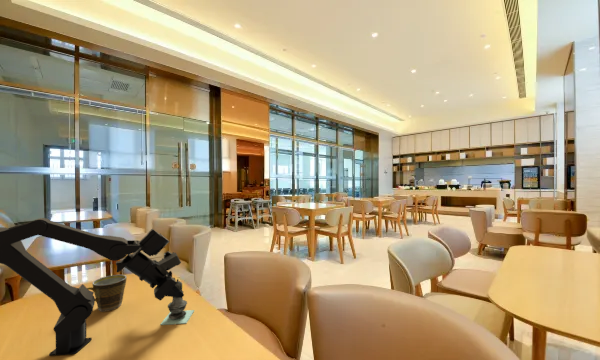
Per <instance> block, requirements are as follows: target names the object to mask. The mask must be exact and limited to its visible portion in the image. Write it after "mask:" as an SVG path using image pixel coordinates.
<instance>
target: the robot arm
mask: <svg viewBox="0 0 600 360" xmlns="http://www.w3.org/2000/svg"><path fill="white" fill-rule="evenodd" d="M36 236H41V237H45V238H47V239H51V240H56V241H59V242H63V243H66V244H70V245H74V246H77V247H80V248H84V249H88V250H90V251H92V252H94V253H96V254H98V255H99V256H101V257H103V258H106V259H107V260H110V261H113V262H114V261H115V265H116V273H120V272H121V271H122V270H123V269H124V268H125V269H126V270H128V271H129V272H131V273H132V274H134V275H135V276H137V277H138V279H139V281H141V282H143V281H144V282H145V283H147V284H148V285H149V287H150V288H151V289H153V294H154V298H155V299H157V300H158V301H162V300H163V299H164V298H165V297H171V298H173V297H180V298H183V297H184V296H185V294H184V292H183V293H182V292H181V290H180V289H179V288H178V287H177V286H176V283H177V282H176V281H177V279H176V278H175V277H173V272H172V269H173V268H174V267H176V266H180V265H181V264H182V261H181V259H180V258H179V256H178V254H177V252H170V251H169V250H168V251H165V252H164V253H163V257H162V258H161V259H160V260H159V261H157V260H156V259H152V258H150V257H151V256H157V255H158V254H159V253H160V252H161V251H162V250H163V249H164V248H165V247H166V246H167V245H168V244H169V243H170V240H169V239H168V238H167V237H165V236H164V235H163V234H162V233H159V232H158V231H157V230H155V229H154V228H151V229H150V230H149V231H148V232H147V233H146V234H145V236H144V237H142V238H141V239H140V240H133V239H132V240H131V239H130V240H129V239H128V240H127V239H126V238H124V237H121V236H113V235H101V234H97V233H93V232H89V231H85V230H82V229H80V228H76V227H73V226H70V225H66V224H63V223H60V222H59V223H58V222H56V221H52V220H50V219H49V218H46V217H40V218H37V219H34V220H32V221H29V222H24V223H21V224H18V225H14V226H12V227H11V226H10V227H2V226H1V227H0V264H1V265H4V266H6V267H7V268H9V269H10V270H12V271H13V272H14V273H16V274H17V275H19V276H20V277H22V279H24V280H25V281H26V282H28V283H29V284H31V285H32V286H33V287H35V288H36V289H37V290H38V291H40V292H41V293H42V294H44V295H45V296H47V297H48V298H49V299H51V300H52V301H53V302H54V304H55V305H56V307H57V310H58V312H59V313H60V314H59V317H58V319H57V321H56V323H55V325H54V327H53V331H54V333H55V348H54V349H53V350H52V351H50V352H49V356H65V355H66V356H67V355H75V354H77V353H78V352H80V351H81V349H83V348H84V347H85V346H86V345H88V344H89V343H90V342H91V341H92V338H93V337H87V319H88V318H89V317H90V316H91V315H92V313H93V310H94V305H95V303H96V301H95V298H96V297H95V295H94V294H95V293H94V291H93V290H90V289H89V290H88V289H87V288H88V287H86V285H84V284H83V283H82V284H81V285H80V286H79V287H76V286H72V285H70V284H68V283H67V282H66V280H64V279H62V278H61V277H60V276H58V275H57V274H56V273H54V271H52V270H51V269H50V268H49V267H47V266H46V265H44V264H43V263H42V262H41V261H39V260H38V259H37V258H36V257H34V256H33V255H32V254H30V252H28V251H27V250H26V248H25V246H24V244H23V242H22V241H23V240H26V239H30V238H32V237H36Z"/></svg>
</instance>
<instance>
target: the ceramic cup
mask: <svg viewBox="0 0 600 360" xmlns="http://www.w3.org/2000/svg"><path fill="white" fill-rule="evenodd" d="M126 284H127V275H126V274H113V275H107V276H104V277H100V278H98V279H95V280H93V281H92V286H91V287H90V286H89V287H86V288H87V289H88V290H89V291H92V292H94V293H93V294H94V298H95V303H96V306H97V309H98V311H99V312H110V311H113V310H116V309H118V308H120V306H122V304H123V299H124V294H125V289H126Z"/></svg>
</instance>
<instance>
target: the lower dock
mask: <svg viewBox="0 0 600 360" xmlns="http://www.w3.org/2000/svg"><path fill="white" fill-rule="evenodd" d="M184 311H185V312H186V315H185V316H183V317H181V318H178V319H170V318H169V314H171V312H170V311H169V313H168V314H167V315H166V316H165V318H164V319H163V320H162V322H161V323H160V326H165V325H166V326H169V325H186V324H188V322H189V321H190V319H191V317H192V316H193V314H194V312H195V310H194V309H191V310H190V309H189V310H188V309H187V310H184Z"/></svg>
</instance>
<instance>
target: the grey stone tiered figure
mask: <svg viewBox="0 0 600 360" xmlns="http://www.w3.org/2000/svg"><path fill="white" fill-rule="evenodd" d="M176 282H177V283H176V286H177V287H178V288H179V289H180V290H181V292H182V293H183V294H184V291H183V282H182V281H179V279H178V278H177V279H176ZM187 304H188V301H186V299H183V297H182V298H180V297H172V301H171V302H170V303H168V305H167V309H168V311H169V313H170V312H171V314H169V313H168V314H169V318H170V319H178V318H181V317H183V316H185V315H186V312H185V311H186V310H185V309H186V306H187Z"/></svg>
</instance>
